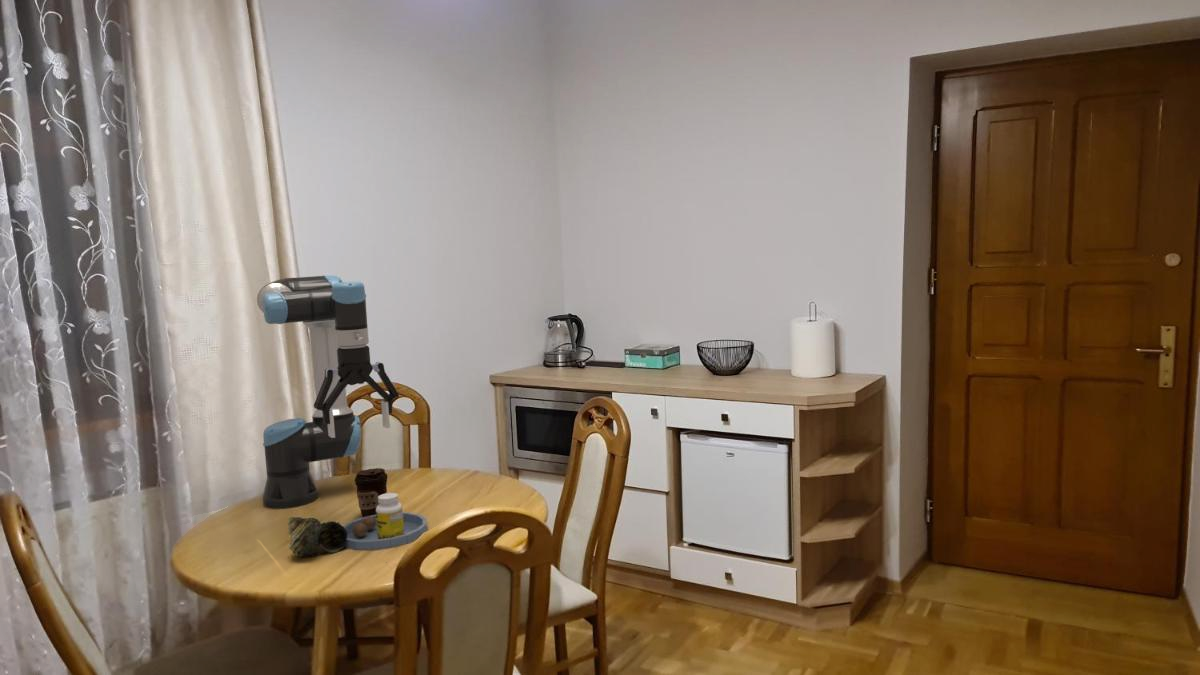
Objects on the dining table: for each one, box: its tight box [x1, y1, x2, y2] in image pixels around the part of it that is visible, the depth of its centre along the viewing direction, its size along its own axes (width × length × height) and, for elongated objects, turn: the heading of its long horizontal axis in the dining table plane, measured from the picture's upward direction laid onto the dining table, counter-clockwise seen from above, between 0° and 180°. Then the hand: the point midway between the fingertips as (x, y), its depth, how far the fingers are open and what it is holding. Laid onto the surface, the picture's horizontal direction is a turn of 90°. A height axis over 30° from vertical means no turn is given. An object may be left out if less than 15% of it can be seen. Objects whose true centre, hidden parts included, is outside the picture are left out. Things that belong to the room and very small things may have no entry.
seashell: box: [287, 516, 348, 559], centre depth 185 cm, size 11×11×10 cm
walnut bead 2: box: [362, 517, 376, 531], centre depth 200 cm, size 4×4×4 cm
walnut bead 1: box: [353, 523, 367, 538], centre depth 195 cm, size 4×4×4 cm
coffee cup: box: [354, 467, 388, 518], centre depth 211 cm, size 9×8×13 cm
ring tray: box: [343, 511, 428, 551], centre depth 197 cm, size 21×21×3 cm
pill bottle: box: [376, 492, 404, 539], centre depth 192 cm, size 6×6×11 cm
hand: (359, 431), depth 195 cm, fingers open, 13 cm apart
